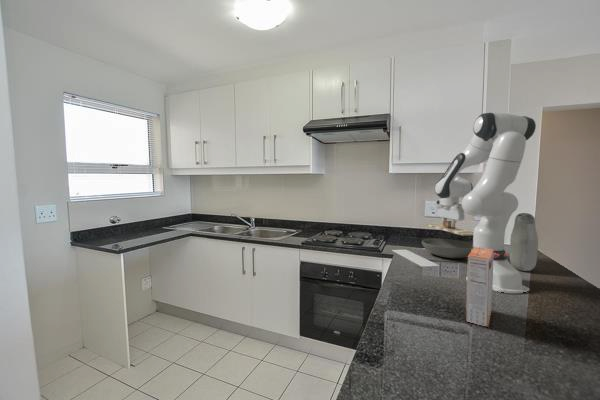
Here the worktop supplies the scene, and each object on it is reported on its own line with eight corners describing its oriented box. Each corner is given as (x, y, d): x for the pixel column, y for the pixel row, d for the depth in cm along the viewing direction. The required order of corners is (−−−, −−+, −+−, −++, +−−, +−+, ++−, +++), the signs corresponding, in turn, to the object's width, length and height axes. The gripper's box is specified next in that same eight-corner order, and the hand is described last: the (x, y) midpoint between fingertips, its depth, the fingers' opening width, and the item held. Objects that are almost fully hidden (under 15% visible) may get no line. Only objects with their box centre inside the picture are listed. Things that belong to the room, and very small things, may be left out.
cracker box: (470, 306, 93) (473, 246, 92) (492, 311, 89) (495, 249, 88) (464, 322, 82) (466, 254, 81) (488, 329, 78) (491, 258, 77)
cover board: (477, 235, 139) (477, 225, 139) (462, 235, 138) (463, 225, 138) (437, 225, 172) (437, 217, 172) (425, 225, 171) (425, 217, 171)
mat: (439, 266, 137) (439, 265, 137) (421, 267, 136) (421, 266, 136) (406, 250, 171) (406, 249, 171) (391, 250, 170) (391, 249, 170)
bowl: (474, 267, 137) (475, 251, 136) (416, 257, 154) (416, 243, 153) (478, 255, 159) (479, 241, 158) (427, 248, 175) (427, 236, 175)
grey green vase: (540, 274, 125) (543, 214, 124) (514, 272, 129) (516, 213, 127) (530, 268, 135) (533, 212, 133) (505, 266, 138) (508, 211, 136)
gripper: (468, 203, 144) (467, 229, 145) (443, 201, 165) (442, 223, 165) (457, 203, 144) (456, 229, 144) (434, 201, 164) (433, 223, 165)
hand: (448, 226), depth 155 cm, fingers closed on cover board, 4 cm apart
